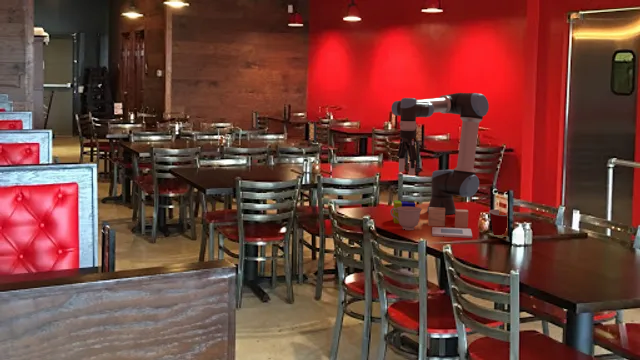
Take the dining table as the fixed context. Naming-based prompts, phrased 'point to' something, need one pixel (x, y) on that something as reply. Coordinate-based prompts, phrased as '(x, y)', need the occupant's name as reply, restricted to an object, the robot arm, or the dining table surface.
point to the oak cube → (436, 216)
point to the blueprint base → (451, 232)
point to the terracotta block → (461, 218)
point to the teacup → (407, 216)
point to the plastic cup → (498, 222)
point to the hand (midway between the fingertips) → (406, 173)
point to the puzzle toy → (401, 204)
